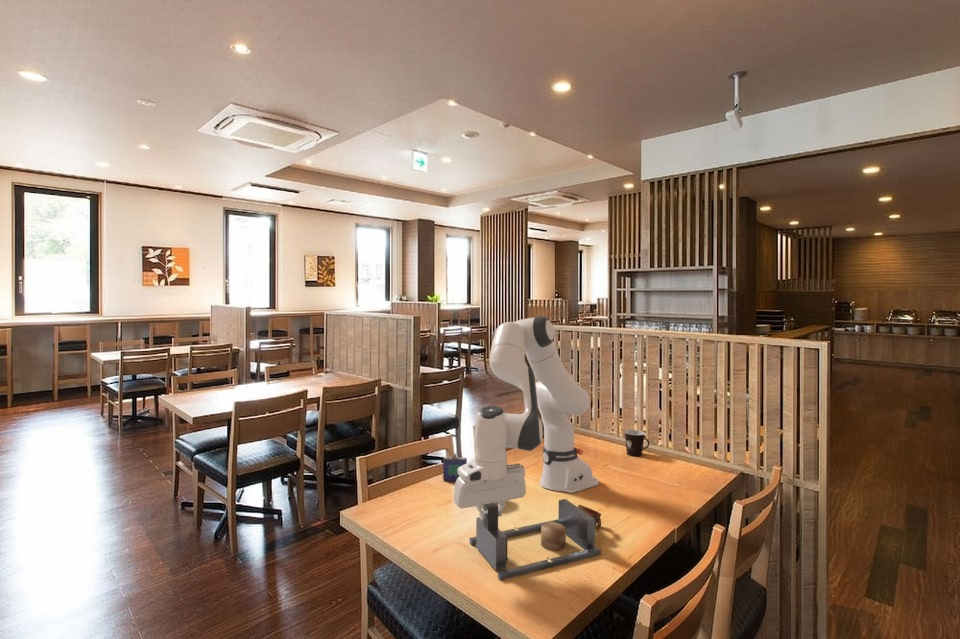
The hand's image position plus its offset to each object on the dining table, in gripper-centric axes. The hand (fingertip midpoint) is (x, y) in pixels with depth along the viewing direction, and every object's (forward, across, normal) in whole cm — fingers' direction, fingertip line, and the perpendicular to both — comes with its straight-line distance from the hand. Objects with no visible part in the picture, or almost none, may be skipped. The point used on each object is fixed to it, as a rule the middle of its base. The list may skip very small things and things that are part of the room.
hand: (490, 517), depth 135 cm
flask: (+12, -11, -57) cm, 59 cm away
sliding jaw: (+12, 0, 0) cm, 12 cm away
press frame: (+12, -14, 0) cm, 18 cm away
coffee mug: (+12, -96, -53) cm, 110 cm away
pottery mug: (+12, -34, -3) cm, 36 cm away
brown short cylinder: (+12, -20, 0) cm, 23 cm away
